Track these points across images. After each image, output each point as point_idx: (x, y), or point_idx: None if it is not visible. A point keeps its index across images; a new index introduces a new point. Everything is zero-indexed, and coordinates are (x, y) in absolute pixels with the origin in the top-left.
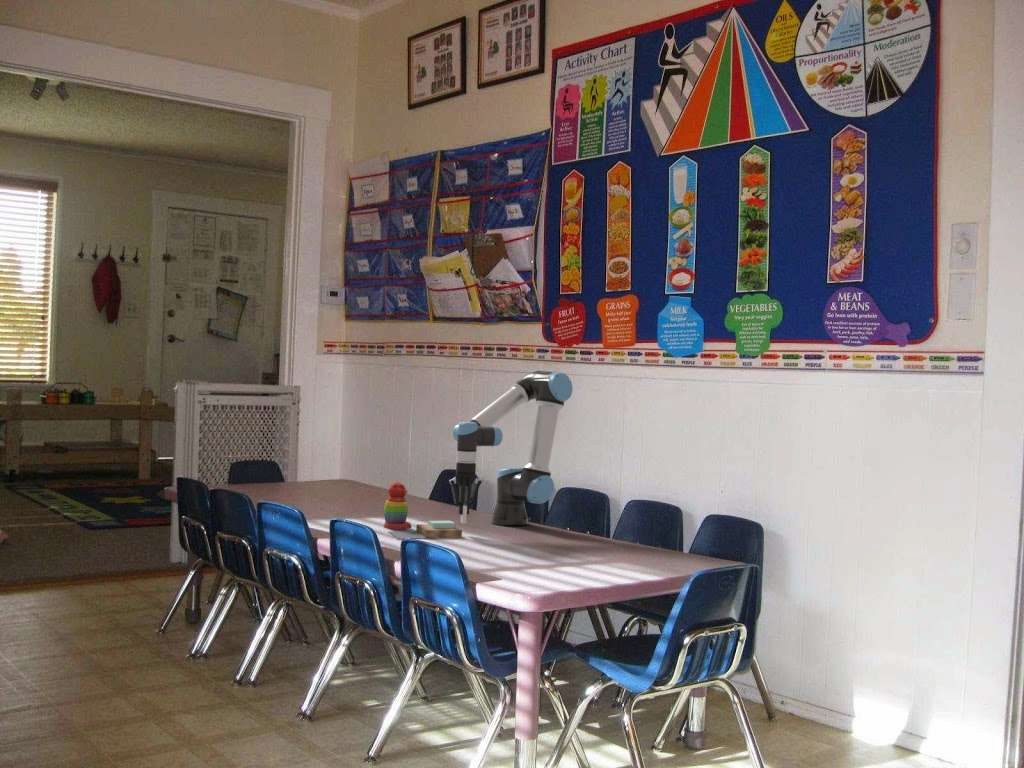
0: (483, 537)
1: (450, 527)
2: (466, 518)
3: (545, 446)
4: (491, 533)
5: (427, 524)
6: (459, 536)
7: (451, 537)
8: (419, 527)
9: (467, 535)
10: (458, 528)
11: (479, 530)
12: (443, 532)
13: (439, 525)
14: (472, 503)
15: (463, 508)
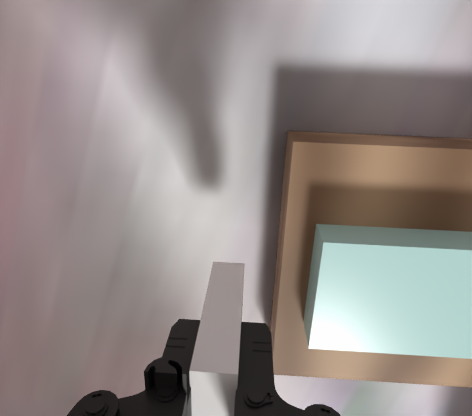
0: (125, 127)
1: (356, 228)
2: (208, 285)
3: None
4: (40, 260)
5: (437, 380)
6: (306, 133)
7: (365, 134)
8: None
9: (212, 215)
10: (294, 211)
11: (92, 351)
12: (446, 145)
13: (457, 241)
14: (104, 402)
15: (237, 357)
